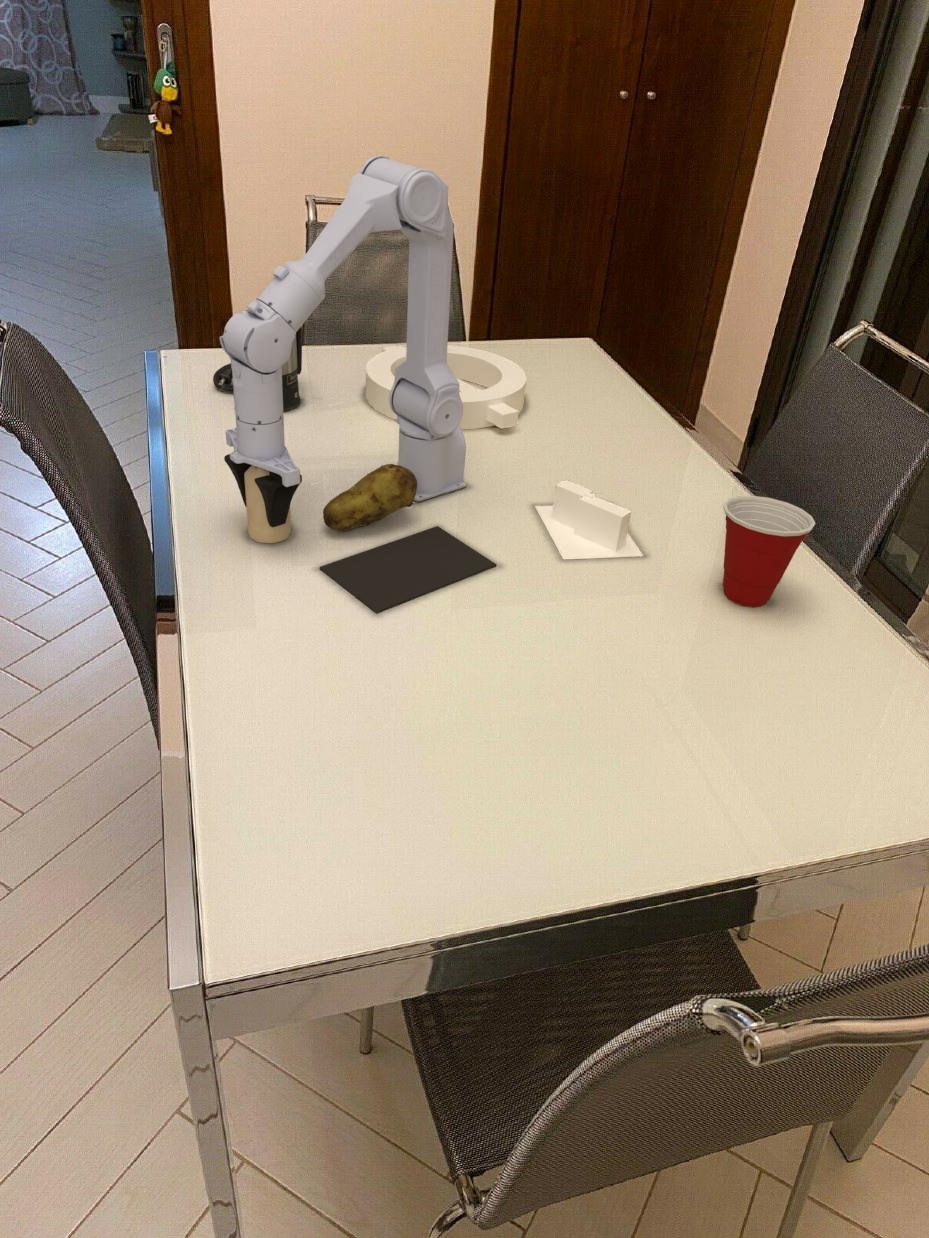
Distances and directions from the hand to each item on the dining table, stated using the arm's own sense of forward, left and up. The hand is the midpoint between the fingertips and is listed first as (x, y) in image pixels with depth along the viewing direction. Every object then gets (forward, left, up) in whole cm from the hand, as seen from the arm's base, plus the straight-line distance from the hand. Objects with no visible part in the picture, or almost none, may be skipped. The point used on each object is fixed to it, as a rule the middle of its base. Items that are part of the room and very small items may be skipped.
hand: (265, 514), depth 121 cm
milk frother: (-23, -42, -3) cm, 48 cm away
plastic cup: (-42, +46, -3) cm, 62 cm away
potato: (-13, +5, -3) cm, 14 cm away
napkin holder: (-37, +23, -3) cm, 44 cm away
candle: (-1, 0, -3) cm, 3 cm away
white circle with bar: (-51, -25, -3) cm, 57 cm away
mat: (-11, +17, -3) cm, 20 cm away
